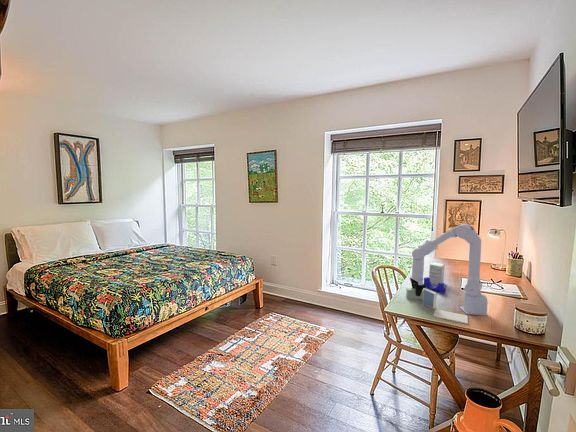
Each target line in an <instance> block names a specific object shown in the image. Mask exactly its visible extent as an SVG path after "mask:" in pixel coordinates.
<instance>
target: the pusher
mask: <svg viewBox="0 0 576 432" xmlns="http://www.w3.org/2000/svg"><path fill="white" fill-rule="evenodd" d="M424 289H425V288H423V290H422V293H421V296H416V293H415V289H414V288H412V287H406V291H405V297H406V298H407V299H412V300H414V299H415V300H423V292H424Z"/></svg>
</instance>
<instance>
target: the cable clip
mask: <svg viewBox="0 0 576 432" xmlns="http://www.w3.org/2000/svg"><path fill="white" fill-rule="evenodd" d="M423 284H425V287H424V289H428V290H430V291H433V292H435V293H437V294H444V293H446V292H447V291H446V290H447V288H446V287H445V282H443V283H438V285H436V287H435V285H434V284H431V282H430V278H429V276H428V277H427V276H426V277H423Z"/></svg>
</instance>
